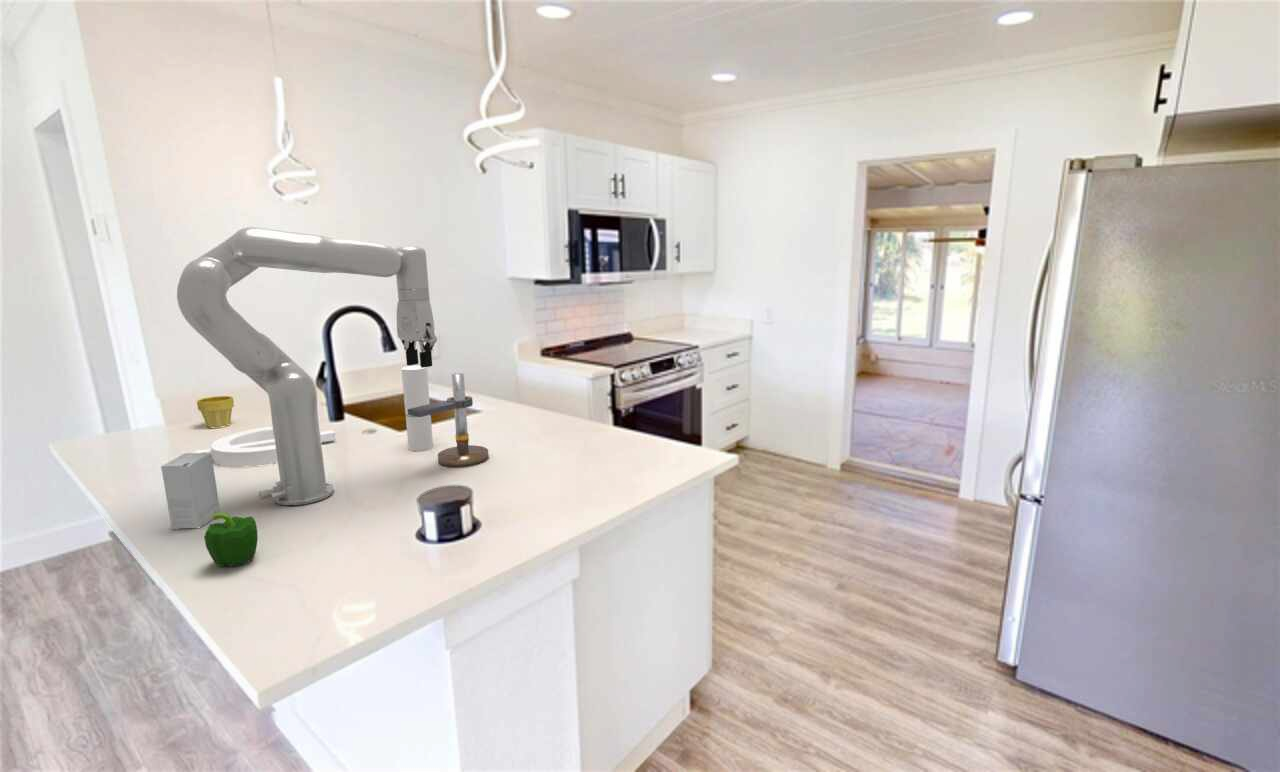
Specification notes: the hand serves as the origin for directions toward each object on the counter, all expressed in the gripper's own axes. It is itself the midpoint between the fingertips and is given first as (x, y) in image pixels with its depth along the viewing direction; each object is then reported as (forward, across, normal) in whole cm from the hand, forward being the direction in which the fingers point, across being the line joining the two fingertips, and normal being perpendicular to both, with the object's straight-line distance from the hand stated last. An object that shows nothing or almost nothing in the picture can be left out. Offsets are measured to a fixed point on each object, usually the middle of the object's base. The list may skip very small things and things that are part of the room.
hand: (419, 365), depth 157 cm
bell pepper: (+30, +12, -52) cm, 61 cm away
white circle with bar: (+30, -55, -16) cm, 65 cm away
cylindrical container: (+30, -20, +12) cm, 38 cm away
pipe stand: (+29, 0, +12) cm, 32 cm away
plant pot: (+30, -101, -12) cm, 106 cm away
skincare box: (+30, -15, -49) cm, 59 cm away
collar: (+13, 0, +6) cm, 15 cm away
